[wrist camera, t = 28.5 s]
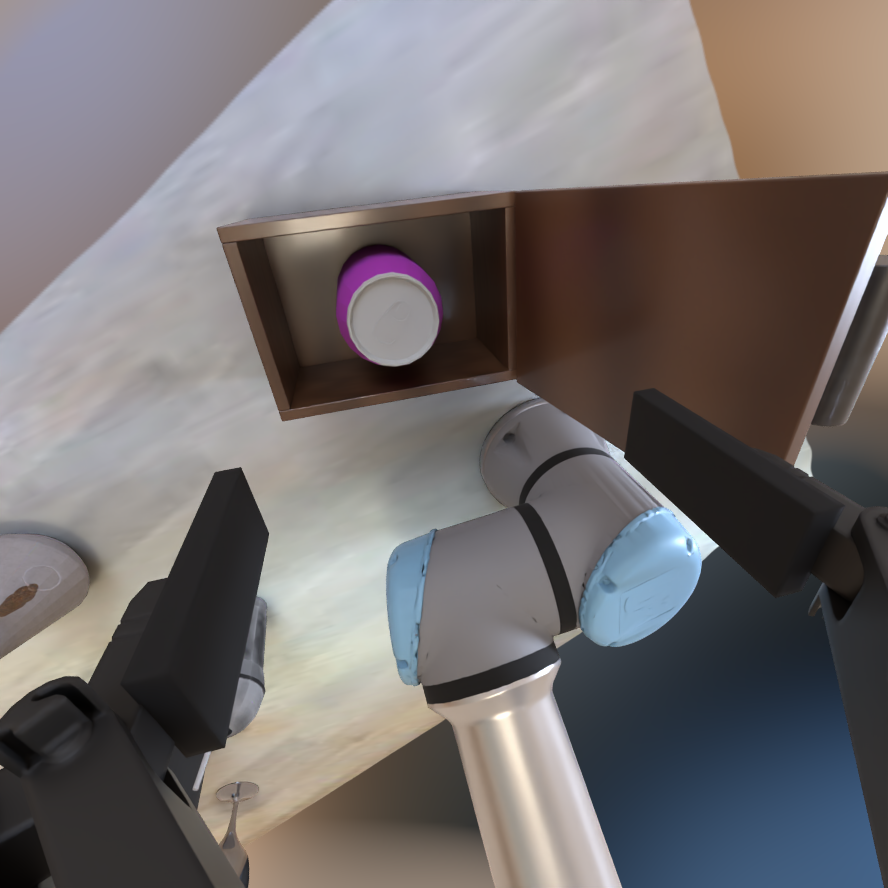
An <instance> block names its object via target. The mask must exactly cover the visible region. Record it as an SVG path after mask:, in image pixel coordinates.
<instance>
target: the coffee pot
mask: <svg viewBox="0 0 888 888" xmlns="http://www.w3.org/2000/svg"><path fill="white" fill-rule="evenodd" d="M89 584H90V581H89V574H88V569H87V567H86V565H85V564H84V562H83V561H82V559H81V558H80V557H79V556H78V555H77V554H76V552H75V551H74V550H73V549H71V548H70V547H69V546H68V545H66V544H64V543H63V542H61V541H59V540H56V539H54V538H51V537H48V536H43V535H37V534H4V535H0V659H1V658H2V657H4V656H5V655H7V654H8V653H10V652H11V651H13V650H14V649H16V648H17V647H19V646H20V645H22V644H23V643H25V642H26V641H27V640H29V639H30V638H32V637H33V636H35V635H36V634H38V633H39V632H41V631H42V630H44V629H45V628H47V627H48V626H50V625H51V624H52V623H54V622H55V621H57V620H58V619H60V618H61V617H63V616H64V615H66V614H67V613H69V612H70V611H72V610H73V609H74V608H76V607H77V606H79V605H80V604H81V602H82V601H83V600H84V598H85V597H86V596H87V593H88V589H89Z"/></svg>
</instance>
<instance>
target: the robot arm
mask: <svg viewBox="0 0 888 888" xmlns="http://www.w3.org/2000/svg"><path fill="white" fill-rule="evenodd" d="M624 458H625V459H626V460H627V461H628V462H629V463H630V464H631V465H632V466H633V467H634V468H635V469H636V470H638V471H639V472H640V473H641V474H642V475H643V476H644V477H645V478H646V479H647V480H648V481H649V482H651V483H652V484H653V485H654V486H655V487H656V488H657V489H658V490H659V491H660V492H661V493H662V494H663V495H665V496H666V497H667V498H668V499H669V500H670V501H671V502H672V503H673V504H674V505H675V506H676V507H678V508H679V509H680V510H681V511H682V512H683V513H684V514H685V515H686V516H687V517H688V518H689V519H691V520H692V521H693V522H694V523H695V524H696V525H697V526H698V527H699V528H700V529H701V530H702V531H703V532H705V533H706V534H707V535H708V536H709V537H710V538H711V539H712V540H713V541H714V542H715V543H716V544H718V545H719V546H720V547H721V548H722V549H723V550H724V551H725V552H726V553H727V554H728V555H729V556H730V557H732V558H733V559H734V560H735V561H736V562H737V563H738V564H739V565H740V566H741V567H742V568H744V569H745V570H746V571H747V572H748V573H749V574H750V575H751V576H752V577H753V578H754V579H755V580H756V581H758V582H759V583H760V584H761V585H762V586H763V587H764V588H765V589H766V590H767V591H768V592H769V593H771V594H772V595H773V596H774V597H775V598H777V597H780V596H784V595H788V594H792V593H795V592H799V591H802V590H803V588H804V586H805V584H806V582H807V580H808V578H809V576H810V574H811V573H812V574H813V575H814V576H816V577H817V578H818V579H819V580H821V581H822V582H823V583H822V585H821V587H820V589H819V591H818V592H817V595H816V596H815V598H814V600H813V602H812V604H811V606H810V608H809V612H808V615H810V616H814V615H815V613H816V612H817V610H818V608H820V607H822V611H823V617H822V619H824V620H825V623H826V629H827V633H828V638H829V642H830V646H831V651H832V655H833V660H834V664H835V669H836V673H837V678H838V682H839V687H840V691H841V696H842V700H843V704H844V709H845V714H846V718H847V723H848V727H849V732H850V736H851V740H852V745H853V750H854V754H855V758H856V763H857V768H858V772H859V777H860V781H861V786H862V790H863V795H864V799H865V804H866V808H867V813H868V817H869V822H870V826H871V831H872V835H873V840H874V844H875V849H876V853H877V858H878V862H879V867H880V871H881V875H882V880H883V885H884V888H888V507H877V506H876V507H869V508H864V507H862V506H860V505H859V504H857V503H855V502H854V501H852V500H850V499H849V498H847V497H845V496H844V495H842V494H840V493H838V492H837V491H835V490H834V489H832V488H830V487H829V486H827V485H825V484H824V483H822V482H820V481H818V480H817V479H815V478H813V477H809V476H808V474H807V473H805V472H803V471H802V470H800V469H798V468H794V466H793V465H792V464H790V463H788V462H787V461H785V460H783V459H782V458H780V457H778V456H777V455H774V454H771V453H768V452H766V451H763V450H760V449H757V448H751V447H749V446H748V445H746V444H745V443H743V442H741V441H740V440H738V439H736V438H735V437H733V436H732V435H730V434H728V433H727V432H725V431H723V430H722V429H720V428H718V427H717V426H715V425H714V424H712V423H710V422H709V421H707V420H705V419H704V418H702V417H701V416H699V415H697V414H696V413H694V412H692V411H691V410H689V409H688V408H686V407H684V406H683V405H681V404H679V403H678V402H676V401H675V400H673V399H671V398H670V397H668V396H666V395H665V394H663V393H662V392H660V391H658V390H657V389H655V388H650V389H645V390H640V391H635V392H634V393H633V400H632V407H631V413H630V420H629V427H628V434H627V441H626V448H625V455H624ZM480 470H481V474H482V477H483V480H484V482H485V484H486V486H487V488H488V490H489V491H490V492H491V494H492V495H493V496H494V497H495V498H496V499H497V500H498V501H499V502H500V503H501V504H503V505H504V506H506V507H507V509H504V510H501V511H498V512H495V513H492V514H489V515H486V516H483V517H479V518H476V519H473V520H470V521H467V522H463V523H460V524H457V525H454V526H450V527H447V528H444V529H441V530H437V529H433V530H431V531H430V533H428V534H425V535H423V536H420V537H417V538H415V539H412V540H409V541H407V542H404V543H402V544H400V545H399V546H397V547H396V548H395V549H394V551H393V552H392V554H391V556H390V558H389V562H388V566H387V576H386V596H387V611H388V621H389V629H390V636H391V643H392V648H393V653H394V656H395V658H396V662H397V668H398V673H399V676H400V678H401V680H402V681H403V682H404V683H405V684H407V685H413V686H417V685H419V684H420V683H422V685H423V689H424V693H425V697H426V701H427V705H428V708H430V709H431V710H433V711H434V712H436V713H438V714H439V715H441V716H442V717H444V718H446V719H447V720H448V721H449V722H450V723H451V724H452V726H453V730H454V733H455V737H456V741H457V745H458V748H459V752H460V756H461V760H462V764H463V768H464V772H465V775H466V779H467V783H468V786H469V790H470V794H471V798H472V802H473V805H474V809H475V813H476V816H477V820H478V824H479V828H480V832H481V836H482V839H483V843H484V847H485V851H486V855H487V858H488V862H489V866H490V870H491V874H492V877H493V881H494V885H495V888H622V887H621V884H620V881H619V878H618V876H617V872H616V870H615V867H614V864H613V861H612V859H611V856H610V853H609V850H608V847H607V845H606V841H605V839H604V836H603V833H602V830H601V827H600V825H599V822H598V819H597V816H596V814H595V810H594V808H593V805H592V802H591V799H590V797H589V794H588V791H587V788H586V785H585V782H584V779H583V777H582V774H581V771H580V768H579V765H578V762H577V760H576V757H575V754H574V751H573V749H572V745H571V743H570V740H569V737H568V734H567V731H566V729H565V726H564V723H563V720H562V717H561V714H560V712H559V709H558V706H557V703H556V700H555V698H554V695H553V692H552V686H553V681H554V679H555V676H556V674H557V672H558V669H559V667H560V664H561V660H560V657H559V654H558V652H557V649H556V646H555V643H554V640H553V637H554V636H556V635H559V634H562V633H565V632H568V631H571V630H574V629H577V628H581V630H582V631H583V632H584V634H585V635H586V636H587V637H588V638H590V639H591V640H592V641H593V642H595V643H597V644H598V645H601V646H608V645H610V646H613V647H619V646H624V645H627V644H631V643H633V642H636V641H638V640H640V639H642V638H644V637H646V636H648V635H649V634H651V633H653V632H654V631H656V630H657V629H658V628H660V627H661V626H662V625H664V624H665V623H667V622H668V621H669V620H670V619H671V618H672V617H673V616H674V615H675V614H676V613H677V612H678V611H679V610H680V608H681V607H682V606H683V605H684V604H685V603H686V601H687V600H688V598H689V597H690V595H691V594H692V592H693V590H694V588H695V586H696V584H697V582H698V579H699V575H700V571H701V554H700V550H699V547H698V545H697V543H696V542H695V540H694V539H693V537H692V536H691V535H690V534H689V533H688V532H687V530H686V529H685V528H684V527H683V526H682V525H681V523H680V522H679V521H678V520H677V519H676V517H675V515H674V514H673V512H672V511H670V510H669V509H667V508H665V507H664V506H663V505H662V504H660V503H659V502H658V501H657V500H656V499H655V498H654V497H653V496H652V495H651V494H650V493H649V492H648V491H647V490H646V489H645V488H644V487H643V486H642V485H641V484H639V483H638V482H637V481H636V480H635V479H634V478H633V477H632V476H631V475H630V474H629V473H628V472H627V471H626V470H625V469H624V468H623V467H622V466H621V465H620V464H618V463H617V462H616V461H615V460H614V459H613V458H612V457H611V455H610V453H609V450H608V447H607V445H606V442H605V439H604V438H602V437H600V436H599V435H597V434H596V433H594V432H593V431H591V430H590V429H588V428H587V427H585V426H584V425H582V424H581V423H579V422H577V421H576V420H574V419H573V418H571V417H570V416H568V415H567V414H565V413H564V412H562V411H561V410H559V409H558V408H556V407H554V406H553V405H551V404H550V403H548V402H547V401H545V400H544V399H542V398H539V399H534V400H531V401H528V402H526V403H523V404H521V405H519V406H517V407H516V408H514V409H512V410H511V411H509V412H508V413H507V414H506V415H504V416H503V417H502V418H501V419H500V420H499V421H498V422H497V423H496V424H495V425H494V427H493V428H492V429H491V431H490V432H489V434H488V436H487V437H486V439H485V442H484V444H483V447H482V450H481V455H480ZM268 537H269V532H268V530H267V527H266V525H265V523H264V520H263V518H262V515H261V513H260V511H259V508H258V506H257V504H256V501H255V499H254V497H253V494H252V492H251V490H250V487H249V485H248V483H247V480H246V478H245V475H244V473H243V471H242V468H241V467H240V468H234V469H229V470H224V471H219V472H215V473H214V476H213V478H212V480H211V482H210V484H209V487H208V489H207V491H206V493H205V496H204V498H203V500H202V502H201V505H200V507H199V509H198V511H197V513H196V516H195V518H194V520H193V522H192V525H191V527H190V529H189V531H188V533H187V536H186V538H185V540H184V542H183V545H182V547H181V549H180V551H179V554H178V556H177V558H176V560H175V562H174V565H173V567H172V569H171V571H170V574H169V576H168V578H164V579H160V580H155V581H151V582H148V583H147V584H146V585H145V586H144V587H143V588H142V589H141V590H140V591H139V593H138V594H137V595H136V596H135V597H134V598H133V599H132V600H131V601H130V603H129V605H128V607H127V609H126V611H125V613H124V615H123V617H122V619H121V621H120V622H121V624H120V625H118V626H117V628H116V630H115V632H114V634H113V636H112V641H111V642H109V644H108V646H107V648H106V650H105V652H104V654H103V656H102V658H101V659H100V661H99V663H98V665H97V667H96V669H95V671H94V673H93V675H92V677H91V679H90V681H89V683H88V684H87V683H86V682H85V681H84V680H82V679H81V678H80V677H74V676H65V677H62V678H58V679H55V680H52V681H49V682H47V683H45V684H43V685H42V686H40V687H38V688H36V689H35V690H33V691H31V692H29V693H28V694H27V695H26V696H24V697H23V698H22V699H21V700H19V701H18V702H17V703H16V704H14V705H13V706H12V707H11V708H10V709H9V710H8V711H7V712H6V714H5V715H4V716H3V717H2V718H1V719H0V765H2V766H3V767H4V768H3V769H1V770H0V888H245V886H244V885H243V883H242V882H241V880H240V878H239V877H238V875H237V874H236V872H235V870H234V869H233V867H232V866H231V864H230V862H229V861H228V859H227V858H226V856H225V854H224V853H223V851H222V850H221V848H220V846H219V845H218V843H217V842H216V840H215V838H214V837H213V835H212V834H211V832H210V830H209V829H208V827H207V826H206V824H205V822H204V821H203V819H202V818H201V816H200V814H199V813H198V811H197V810H196V808H195V806H194V805H193V803H192V802H191V800H190V798H189V797H188V795H187V794H186V792H185V790H184V789H183V787H182V786H181V784H180V782H179V781H178V779H177V778H176V776H175V774H174V773H173V772H172V771H171V770H170V769H169V767H168V765H169V761H170V758H171V755H172V751H173V748H174V745H175V746H176V747H177V748H178V749H179V750H180V752H181V753H182V754H183V755H184V756H185V757H186V758H188V757H192V756H196V755H199V754H203V753H207V752H210V751H214V750H218V749H221V748H225V744H226V740H227V735H228V730H229V725H230V720H231V715H232V711H233V706H234V701H235V696H236V691H237V687H238V682H239V677H240V672H241V667H242V662H243V658H244V653H245V648H246V643H247V638H248V633H249V629H250V624H251V619H252V614H253V609H254V605H255V600H256V595H257V590H258V585H259V580H260V576H261V571H262V566H263V561H264V556H265V552H266V547H267V542H268Z"/></svg>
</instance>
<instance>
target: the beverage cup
mask: <svg viewBox="0 0 888 888" xmlns="http://www.w3.org/2000/svg"><path fill="white" fill-rule="evenodd" d="M266 609H267V606H266V603H265V601H264V600H263V599H261V598H260V597H257V596H256V600H255V605H254V609H253V614H252V619H251V624H250V629H249V633H248V638H247V643H246V648H245V653H244V658H243V662H242V667H241V672H240V677H239V682H238V687H237V691H236V696H235V701H234V706H233V711H232V715H231V720H230V725H229V730H228V735H227V738H229V737H232V736H234V735H236V734H238V733H239V732H241V731H242V730H244V729H245V728H246V727H247V726H248V725H249V724H250V722H251V721H252V720H253V719H254V717H255V716H256V714H257V712H258V710H259V708H260V705H261V702H262V699H263V697H264V694H265V687H264V673H263V665H264V650H265V635H266V620H267V616H266ZM210 753H211V751H210V752H207V753H205V754H204V757H203V760H202V763H201V766H200V769H199V772H198V775H197V778H196V780H195V783H194V786H193V790H194V791H197V790H198V789H199V786H200V783H201V780H202V777H203V774H204V771H205V768H206V765H207V762H208V759H209V756H210Z"/></svg>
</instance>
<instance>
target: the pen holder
mask: <svg viewBox="0 0 888 888" xmlns="http://www.w3.org/2000/svg"><path fill="white" fill-rule="evenodd" d="M204 754H205V753H203V754H199V755H196V756H192V757H188V758H186V757H185V756H184V755H183V754H182V753H181V752H180V750H179V749H178V748H177V747H176V746H175V745H174V748H173V751H172V755H171V758H170V761H169V765H168V767H169V769H170V770H171V771H172V772H173V773H174V774H175V776H176V778H177V779H178V781H179V782H180V784H181V786H182V787H183V789H184V790H185V792H186V794H187V795H188V797H189V798H190V800H191V802H192V803H193V805H194V806H195V808H196V810H197V808H198V803H199V798H200V793H201V788H202V783H203V778H204V774H203V777H202V780H201V783H200V786H199V789H198V790H197V791H194V790H193V786H194V783H195V780H196V778H197V775H198V772H199V769H200V766H201V763H202V760H203V757H204ZM204 772H205V771H204Z"/></svg>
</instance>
